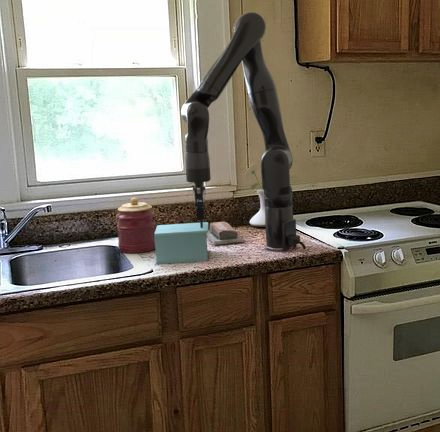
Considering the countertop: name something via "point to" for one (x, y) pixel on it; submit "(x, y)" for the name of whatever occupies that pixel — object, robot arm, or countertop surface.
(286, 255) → the countertop surface
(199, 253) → the box
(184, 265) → the countertop surface
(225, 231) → the packaged product
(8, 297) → the countertop surface
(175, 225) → the freezer lid
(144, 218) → the kitchen canister
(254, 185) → the flower in vase
